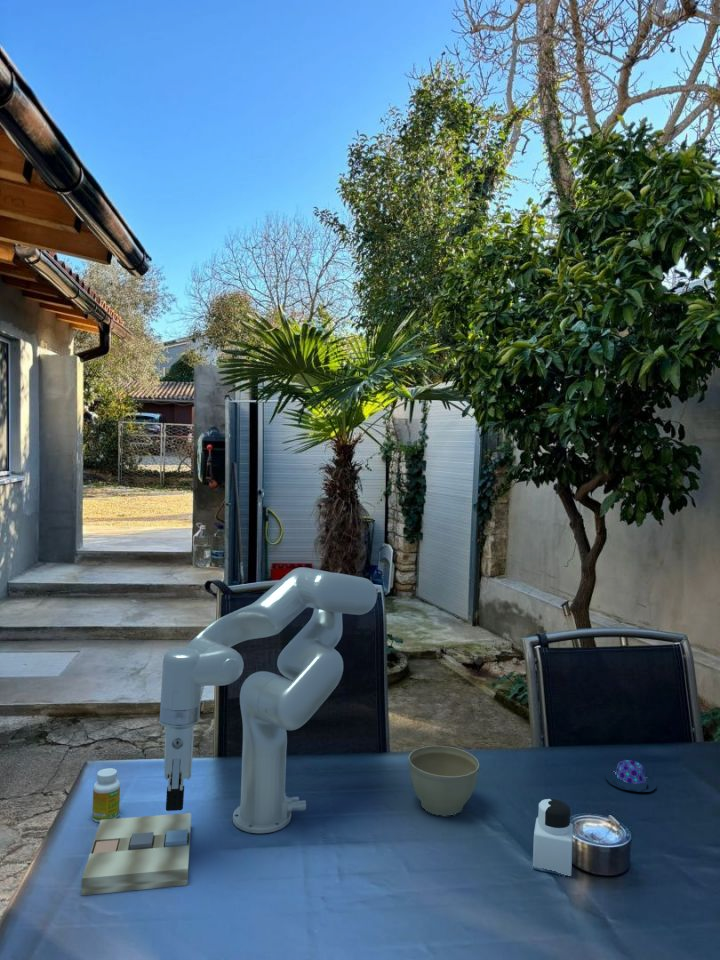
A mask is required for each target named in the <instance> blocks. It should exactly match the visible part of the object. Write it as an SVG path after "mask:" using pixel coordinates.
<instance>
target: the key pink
mask: <svg viewBox="0 0 720 960" xmlns="http://www.w3.org/2000/svg"><path fill="white" fill-rule="evenodd" d="M118 841H119V840H111V841H99V842H96V845H95V849H94V852H93V853H103V852H115V851H117V850H118Z"/></svg>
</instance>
